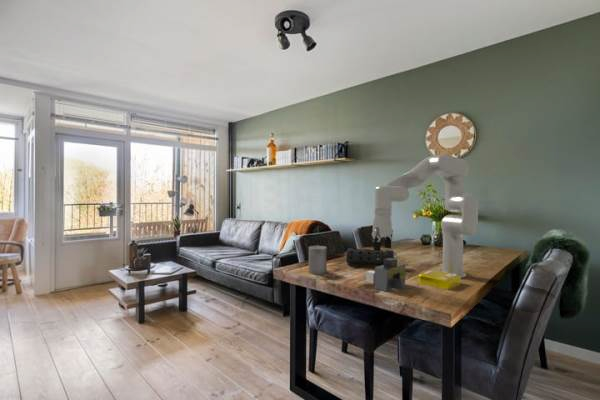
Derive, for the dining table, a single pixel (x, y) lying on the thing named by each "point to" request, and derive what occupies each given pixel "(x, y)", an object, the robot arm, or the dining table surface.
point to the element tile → (440, 279)
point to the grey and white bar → (397, 282)
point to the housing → (388, 274)
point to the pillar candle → (317, 260)
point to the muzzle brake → (368, 257)
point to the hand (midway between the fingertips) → (382, 249)
